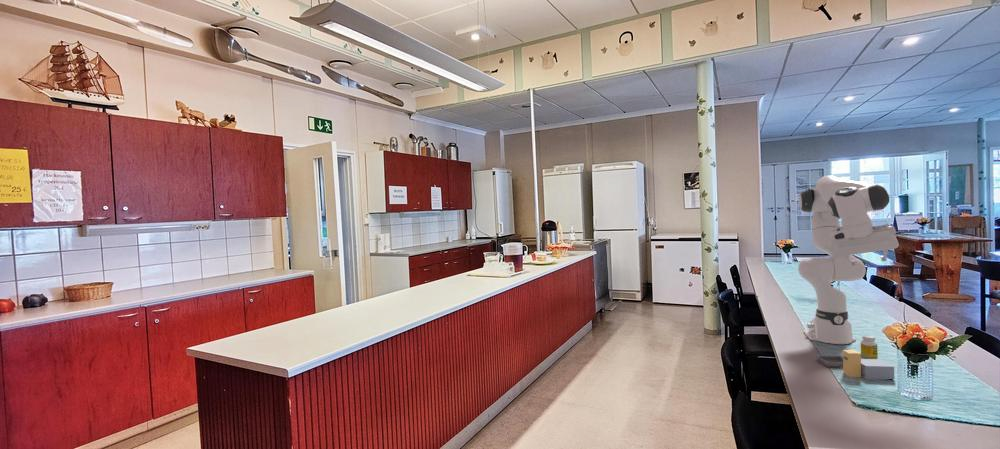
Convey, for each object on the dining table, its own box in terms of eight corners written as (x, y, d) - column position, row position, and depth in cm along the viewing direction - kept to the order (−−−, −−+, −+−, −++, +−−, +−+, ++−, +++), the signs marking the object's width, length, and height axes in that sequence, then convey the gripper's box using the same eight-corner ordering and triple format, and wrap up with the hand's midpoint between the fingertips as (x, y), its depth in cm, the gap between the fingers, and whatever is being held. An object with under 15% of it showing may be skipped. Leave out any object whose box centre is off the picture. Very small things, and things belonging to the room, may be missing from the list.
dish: (817, 360, 187) (816, 355, 187) (840, 360, 185) (840, 356, 185) (827, 367, 178) (827, 362, 178) (852, 368, 177) (852, 363, 177)
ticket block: (853, 371, 173) (853, 358, 173) (880, 372, 171) (880, 359, 171) (865, 379, 166) (865, 365, 165) (894, 380, 164) (894, 366, 164)
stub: (842, 373, 172) (842, 349, 172) (855, 373, 171) (854, 350, 171) (848, 377, 168) (848, 353, 168) (861, 377, 168) (860, 353, 167)
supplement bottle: (863, 356, 189) (863, 333, 189) (879, 359, 185) (879, 336, 184) (858, 359, 186) (858, 336, 186) (874, 362, 182) (874, 339, 181)
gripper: (892, 220, 166) (903, 255, 168) (826, 232, 180) (836, 264, 181) (894, 225, 162) (905, 261, 163) (826, 237, 175) (836, 270, 176)
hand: (868, 262), depth 172 cm, fingers open, 8 cm apart
